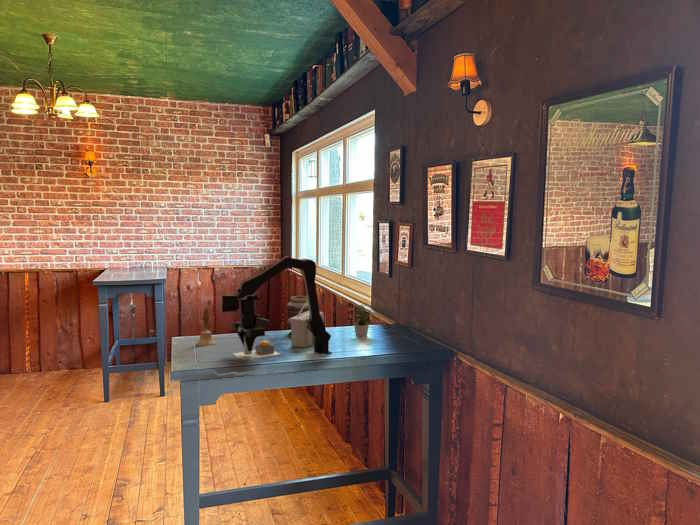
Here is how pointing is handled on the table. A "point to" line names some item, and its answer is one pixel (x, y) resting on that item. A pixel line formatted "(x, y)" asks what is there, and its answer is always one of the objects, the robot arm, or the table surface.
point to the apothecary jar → (297, 306)
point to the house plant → (361, 322)
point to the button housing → (264, 349)
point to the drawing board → (253, 355)
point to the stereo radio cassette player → (301, 330)
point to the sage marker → (246, 349)
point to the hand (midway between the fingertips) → (248, 350)
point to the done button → (264, 343)
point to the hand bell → (205, 332)
